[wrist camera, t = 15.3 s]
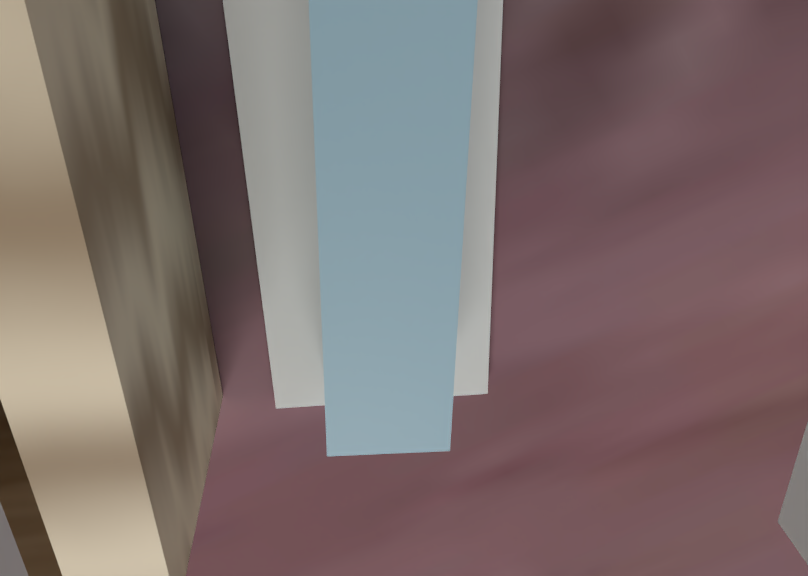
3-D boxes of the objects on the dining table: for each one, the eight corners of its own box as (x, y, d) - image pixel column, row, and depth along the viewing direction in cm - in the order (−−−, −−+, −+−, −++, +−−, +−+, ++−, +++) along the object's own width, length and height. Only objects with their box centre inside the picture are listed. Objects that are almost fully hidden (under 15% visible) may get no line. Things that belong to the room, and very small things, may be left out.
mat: (277, 398, 28) (275, 408, 28) (222, -26, 21) (219, -24, 21) (484, 384, 29) (487, 393, 28) (500, -35, 22) (504, -33, 21)
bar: (306, -159, 19) (301, -167, 16) (459, -155, 20) (487, -163, 16) (327, 383, 28) (326, 456, 24) (434, 379, 28) (449, 450, 24)
